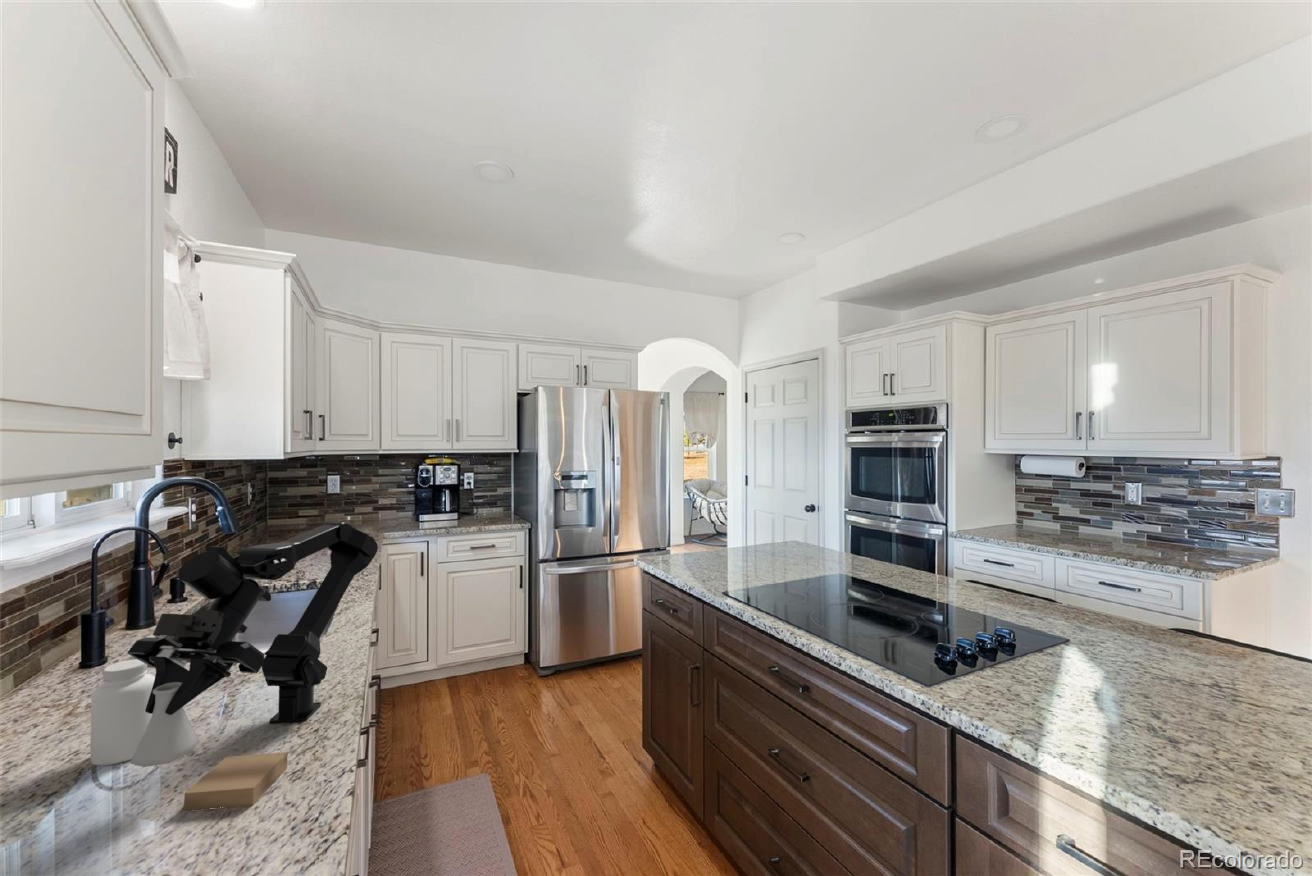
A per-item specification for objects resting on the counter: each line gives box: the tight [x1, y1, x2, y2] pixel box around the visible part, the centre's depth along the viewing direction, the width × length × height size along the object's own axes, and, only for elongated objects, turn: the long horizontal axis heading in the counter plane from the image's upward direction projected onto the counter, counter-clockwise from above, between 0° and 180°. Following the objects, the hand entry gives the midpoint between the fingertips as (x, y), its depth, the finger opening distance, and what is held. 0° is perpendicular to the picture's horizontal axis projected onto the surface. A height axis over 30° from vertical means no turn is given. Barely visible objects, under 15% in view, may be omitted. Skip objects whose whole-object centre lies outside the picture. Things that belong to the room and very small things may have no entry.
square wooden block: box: [183, 752, 288, 812], centre depth 80 cm, size 9×9×3 cm
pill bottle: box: [89, 658, 155, 767], centre depth 89 cm, size 8×8×15 cm
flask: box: [129, 682, 201, 768], centre depth 78 cm, size 7×7×10 cm
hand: (158, 713), depth 76 cm, fingers closed on flask, 3 cm apart
